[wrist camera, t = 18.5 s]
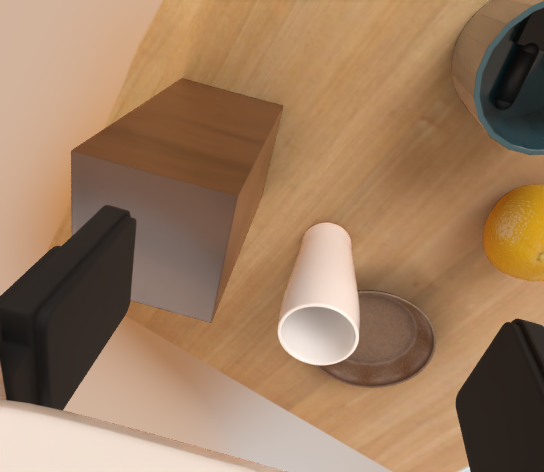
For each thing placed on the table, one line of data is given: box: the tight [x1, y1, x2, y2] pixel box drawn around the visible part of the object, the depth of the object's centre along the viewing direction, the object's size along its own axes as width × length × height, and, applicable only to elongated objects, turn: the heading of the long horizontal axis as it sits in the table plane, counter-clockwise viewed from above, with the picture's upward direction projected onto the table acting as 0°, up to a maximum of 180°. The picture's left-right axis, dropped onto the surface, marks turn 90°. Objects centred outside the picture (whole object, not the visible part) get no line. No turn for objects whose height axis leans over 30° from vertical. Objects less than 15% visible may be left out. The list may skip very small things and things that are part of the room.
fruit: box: [483, 184, 544, 281], centre depth 42 cm, size 9×8×8 cm
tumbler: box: [451, 0, 544, 155], centre depth 35 cm, size 10×10×9 cm
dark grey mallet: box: [493, 8, 544, 110], centre depth 37 cm, size 8×2×2 cm, turn 167°
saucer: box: [316, 290, 436, 388], centre depth 54 cm, size 15×15×3 cm
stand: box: [71, 79, 283, 323], centre depth 38 cm, size 10×10×20 cm
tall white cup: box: [278, 222, 360, 365], centre depth 44 cm, size 7×7×15 cm
